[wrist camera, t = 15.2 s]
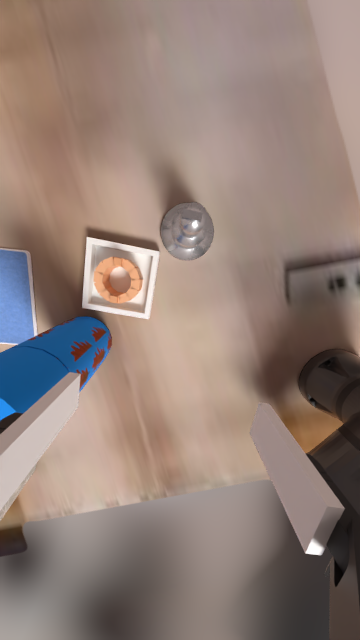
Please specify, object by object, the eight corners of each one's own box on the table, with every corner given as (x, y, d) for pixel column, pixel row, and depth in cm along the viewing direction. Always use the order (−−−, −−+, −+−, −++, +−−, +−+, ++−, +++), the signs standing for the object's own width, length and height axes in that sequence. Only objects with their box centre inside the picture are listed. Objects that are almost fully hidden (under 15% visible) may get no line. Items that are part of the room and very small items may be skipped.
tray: (160, 252, 38) (159, 251, 35) (150, 316, 41) (148, 319, 38) (92, 239, 37) (86, 236, 34) (87, 305, 40) (81, 307, 37)
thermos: (58, 356, 42) (-96, 471, 18) (64, 309, 40) (-103, 370, 15) (108, 367, 43) (27, 489, 19) (117, 322, 41) (38, 397, 17)
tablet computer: (-37, 244, 36) (-45, 243, 35) (32, 250, 37) (27, 250, 36) (-21, 340, 41) (-27, 342, 40) (41, 344, 42) (37, 346, 41)
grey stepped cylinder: (218, 210, 36) (241, 181, 24) (206, 264, 39) (222, 262, 27) (165, 198, 35) (163, 162, 24) (157, 254, 38) (150, 247, 26)
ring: (139, 303, 39) (135, 307, 35) (100, 296, 39) (89, 299, 34) (145, 263, 38) (141, 261, 33) (103, 254, 37) (93, 252, 32)
